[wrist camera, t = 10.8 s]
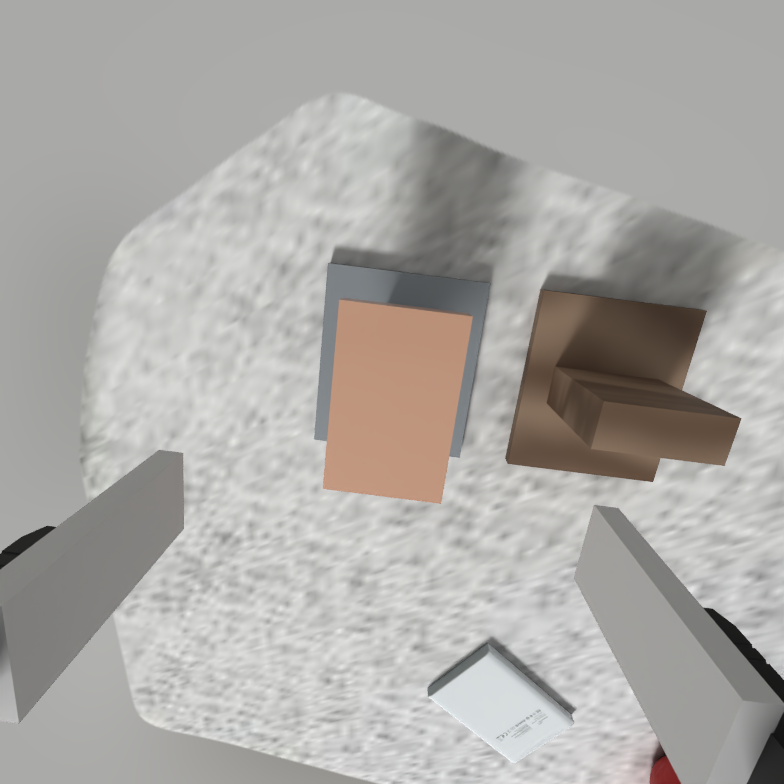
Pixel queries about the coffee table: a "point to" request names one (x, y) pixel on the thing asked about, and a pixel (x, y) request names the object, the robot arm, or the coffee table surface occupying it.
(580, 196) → the coffee table surface
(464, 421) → the slate stand
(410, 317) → the terracotta tile
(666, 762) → the pomegranate
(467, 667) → the external hard drive
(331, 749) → the coffee table surface
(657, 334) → the walnut stand
